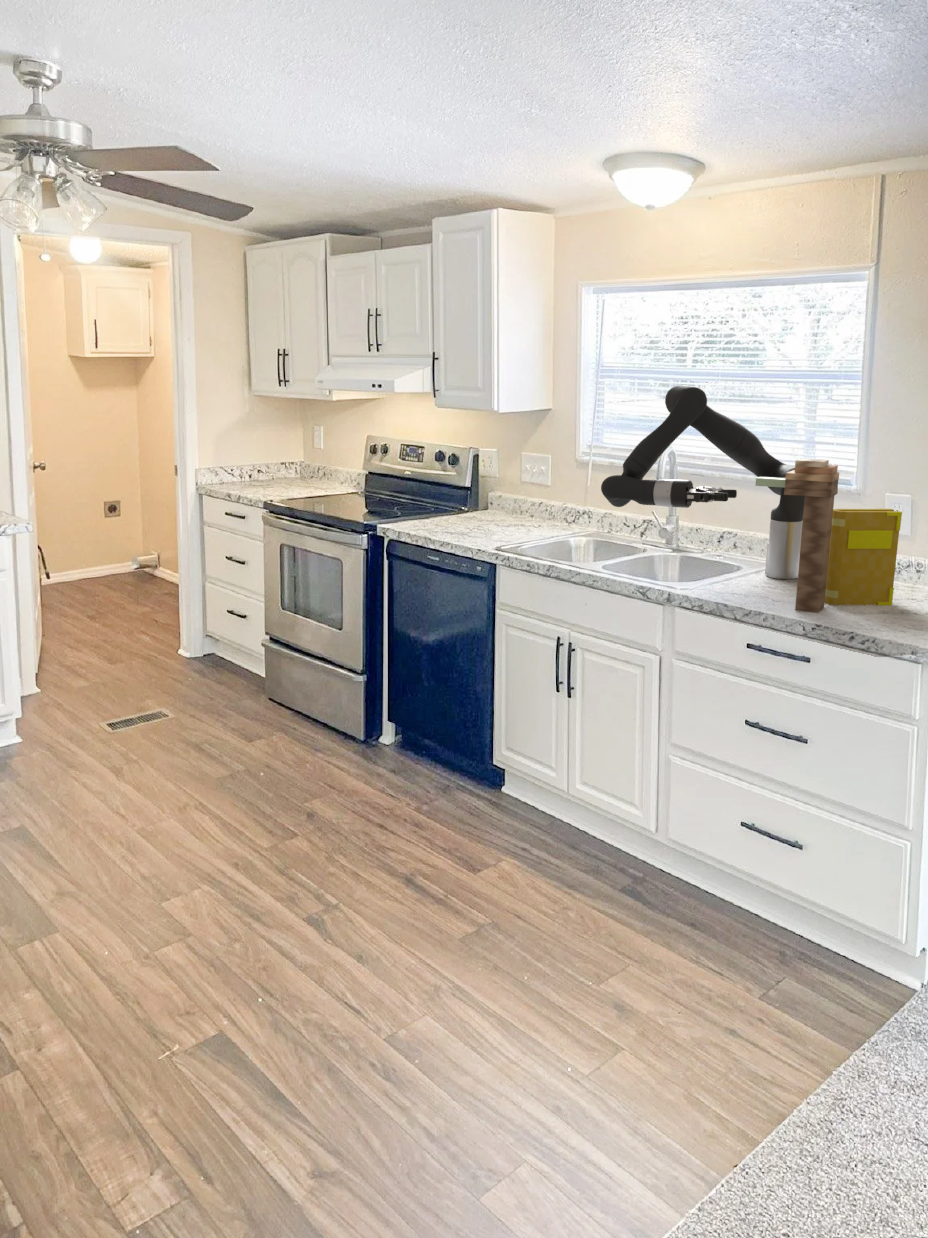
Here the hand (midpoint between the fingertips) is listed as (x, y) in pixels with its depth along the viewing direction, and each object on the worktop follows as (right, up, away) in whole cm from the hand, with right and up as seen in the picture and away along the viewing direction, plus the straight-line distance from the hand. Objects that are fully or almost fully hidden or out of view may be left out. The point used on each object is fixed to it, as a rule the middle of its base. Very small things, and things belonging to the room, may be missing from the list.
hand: (732, 495), depth 278 cm
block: (+13, +1, -9) cm, 16 cm away
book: (+34, -29, +2) cm, 45 cm away
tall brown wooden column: (+17, -30, -4) cm, 35 cm away
